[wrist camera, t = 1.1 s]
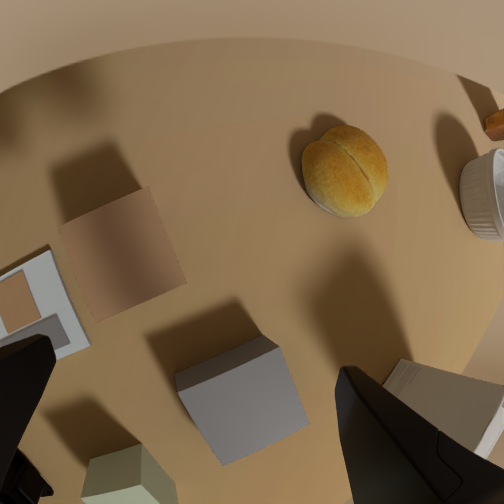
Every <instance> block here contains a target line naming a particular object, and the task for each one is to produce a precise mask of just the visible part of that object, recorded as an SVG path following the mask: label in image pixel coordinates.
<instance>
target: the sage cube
mask: <svg viewBox="0 0 504 504" xmlns="http://www.w3.org/2000/svg"><path fill="white" fill-rule="evenodd" d="M81 499H82V500H83V501H84V502H85V503H86V504H178V498H177V492H176V485H175V483H174V481H173V480H172V479H171V478H170V477H169V476H168V475H167V473H166V472H165V471H164V470H163V469H162V468H161V466H160V465H159V464H158V463H157V462H156V460H155V459H154V458H153V457H152V455H151V454H150V453H149V452H148V450H147V449H146V448H145V446H144V445H143V444H142V443H141V444H138V445H135V446H132V447H129V448H126V449H123V450H120V451H116V452H113V453H110V454H106V455H103V456H99V457H96V458H92V459H90V462H89V466H88V469H87V473H86V477H85V481H84V485H83V490H82V494H81Z"/></svg>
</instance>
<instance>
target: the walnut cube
mask: <svg viewBox="0 0 504 504" xmlns="http://www.w3.org/2000/svg"><path fill="white" fill-rule="evenodd" d="M58 228H59V231H60V235H61V238H62V241H63V244H64V246H65V249H66V252H67V255H68V258H69V260H70V263H71V266H72V268H73V271H74V274H75V276H76V279H77V281H78V284H79V286H80V288H81V291H82V293H83V296H84V298H85V300H86V302H87V305H88V307H89V309H90V311H91V314H92V316H93V318H94V320H95V322H96V323H97V322H99V321H102V320H104V319H106V318H109V317H111V316H113V315H115V314H118V313H120V312H122V311H124V310H127V309H129V308H131V307H133V306H136V305H138V304H140V303H143V302H145V301H147V300H149V299H152V298H154V297H156V296H158V295H161V294H163V293H165V292H167V291H170V290H172V289H174V288H177V287H179V286H181V285H183V284H186V283H187V281H186V279H185V277H184V274H183V272H182V270H181V267H180V265H179V263H178V260H177V258H176V256H175V253H174V251H173V248H172V246H171V243H170V241H169V239H168V236H167V234H166V231H165V229H164V226H163V224H162V221H161V218H160V216H159V213H158V211H157V208H156V205H155V203H154V200H153V198H152V195H151V192H150V189H149V187H145V188H143V189H141V190H138V191H136V192H133V193H131V194H129V195H126V196H124V197H121V198H119V199H117V200H115V201H112V202H110V203H108V204H106V205H103V206H101V207H99V208H97V209H95V210H92V211H90V212H88V213H86V214H84V215H82V216H80V217H78V218H75V219H73V220H71V221H69V222H67V223H65V224H63V225H61V226H59V227H58Z"/></svg>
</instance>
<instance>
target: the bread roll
mask: <svg viewBox="0 0 504 504" xmlns="http://www.w3.org/2000/svg"><path fill="white" fill-rule="evenodd" d="M301 161H302V171H303V177H304V182H305V186H306V190H307V192H308V194H309V196H310V197H311V198H312V200H313V201H314V202H315V203H316V204H317V205H318V206H319V207H321V208H322V209H323V210H325V211H327V212H329V213H331V214H333V215H336V216H339V217H357V216H361V215H363V214H365V213H367V212H369V211H370V210H371V209H372V207H373V206H374V205H375V203H376V202H377V201H378V200H379V198H380V197H381V196H382V194H383V192H384V191H385V188H386V185H387V181H388V166H387V161H386V158H385V156H384V154H383V152H382V150H381V149H380V147H379V146H378V145H377V143H376V142H375V141H374V140H373V139H372V138H371V137H370V136H369V135H368V134H367V133H365V132H364V131H362V130H360V129H359V128H356V127H353V126H349V125H341V126H336V127H334V128H331V129H330V130H328V131H327V132H326V133H325V134H324V135H323V136H322V137H321V139H320V140H319V141H315V142H312V143H310V144H308V146H307V147H306V148H305V149H304V151H303V154H302V160H301Z"/></svg>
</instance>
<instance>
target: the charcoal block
mask: <svg viewBox="0 0 504 504" xmlns="http://www.w3.org/2000/svg"><path fill="white" fill-rule="evenodd" d="M174 375H175V382H176V388H177V393H178V395H179V397H180V399H181V400H182V402H183V404H184V406H185V407H186V409H187V411H188V412H189V414H190V416H191V418H192V419H193V421H194V423H195V424H196V426H197V427H198V429H199V431H200V432H201V434H202V435H203V437H204V439H205V440H206V442H207V443H208V445H209V446H210V448H211V449H212V451H213V452H214V454H215V455H216V457H217V458H218V460H219V461H220V463H221V464H222V466H224V465H227V464H229V463H232V462H234V461H236V460H239V459H241V458H243V457H246V456H248V455H250V454H252V453H254V452H257V451H259V450H261V449H263V448H265V447H267V446H269V445H271V444H273V443H275V442H277V441H279V440H281V439H283V438H285V437H287V436H289V435H291V434H293V433H294V432H296V431H298V430H300V429H302V428H304V427H305V426H307V425H309V424H310V423H309V421H308V418H307V415H306V413H305V410H304V408H303V405H302V403H301V400H300V398H299V395H298V393H297V390H296V388H295V385H294V382H293V380H292V377H291V375H290V372H289V370H288V367H287V364H286V362H285V359H284V357H283V354H282V352H281V349H280V347H279V346H278V345H277V344H275V343H274V342H272V341H271V340H270V339H268V338H267V337H265V336H264V335H261V336H259V337H257V338H254V339H252V340H250V341H248V342H246V343H244V344H242V345H239V346H237V347H235V348H233V349H231V350H228V351H226V352H224V353H222V354H219V355H217V356H215V357H212V358H210V359H208V360H205V361H203V362H201V363H198V364H196V365H194V366H191V367H189V368H186V369H184V370H182V371H179V372H177V373H174Z"/></svg>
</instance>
